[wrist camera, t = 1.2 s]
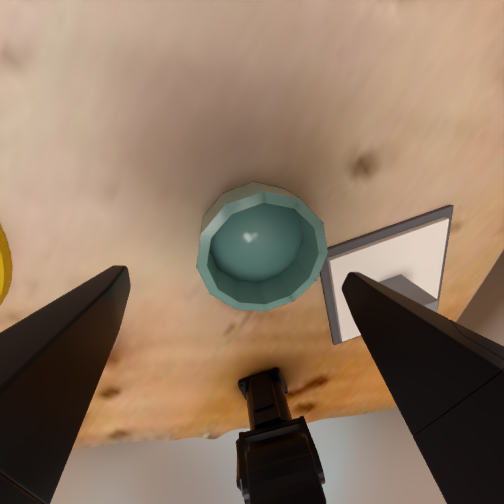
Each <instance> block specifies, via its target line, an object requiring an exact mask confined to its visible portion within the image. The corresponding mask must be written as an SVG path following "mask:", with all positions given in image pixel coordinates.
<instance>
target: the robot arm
mask: <svg viewBox="0 0 504 504" xmlns="http://www.w3.org/2000/svg"><path fill="white" fill-rule="evenodd" d="M129 292H130V278H129V272H128V268H127V267H126V266H117V265H115V266H112V267H110V268H108V269H107V270H105V271H103V272H101V273H100V274H98V275H96V276H95V277H93V278H91V279H90V280H88V281H86V282H85V283H83V284H81V285H80V286H78V287H76V288H75V289H73V290H71V291H70V292H68V293H66V294H65V295H63V296H61V297H59V298H58V299H56V300H54V301H53V302H51V303H49V304H48V305H46V306H44V307H43V308H41V309H39V310H38V311H36V312H34V313H33V314H31V315H29V316H28V317H26V318H24V319H23V320H21V321H19V322H17V323H16V324H14V325H12V326H11V327H9V328H7V329H6V330H4V331H2V332H1V333H0V504H50V502H51V500H52V497H53V495H54V492H55V490H56V487H57V485H58V482H59V480H60V477H61V475H62V472H63V470H64V467H65V465H66V462H67V460H68V457H69V455H70V452H71V450H72V447H73V445H74V442H75V440H76V437H77V435H78V432H79V430H80V427H81V425H82V422H83V420H84V417H85V415H86V412H87V410H88V407H89V405H90V402H91V400H92V397H93V395H94V393H95V390H96V388H97V385H98V383H99V380H100V378H101V375H102V373H103V370H104V368H105V365H106V363H107V360H108V358H109V355H110V353H111V350H112V348H113V345H114V343H115V340H116V338H117V335H118V332H119V330H120V326H121V323H122V319H123V315H124V311H125V308H126V304H127V300H128V296H129ZM342 292H343V295H344V297H345V300H346V303H347V305H348V308H349V310H350V313H351V315H352V318H353V320H354V322H355V324H356V326H357V328H358V330H359V332H360V334H361V336H362V338H363V340H364V342H365V344H366V346H367V348H368V350H369V352H370V354H371V356H372V357H373V359H374V361H375V363H376V365H377V367H378V369H379V371H380V373H381V375H382V377H383V379H384V381H385V383H386V385H387V387H388V389H389V391H390V393H391V395H392V397H393V399H394V401H395V402H396V404H397V406H398V408H399V410H400V412H401V414H402V416H403V418H404V420H405V422H406V424H407V426H408V428H409V430H410V432H411V434H412V435H413V438H414V440H415V442H416V444H417V446H418V448H419V450H420V452H421V454H422V455H423V458H424V459H425V461H426V463H427V466H428V467H429V469H430V471H431V473H432V475H433V477H434V479H435V481H436V483H437V485H438V487H439V489H440V491H441V493H442V495H443V497H444V499H445V501H446V503H447V504H504V346H502V345H500V344H498V343H496V342H494V341H491V340H490V339H487V338H485V337H483V336H481V335H479V334H477V333H475V332H473V331H471V330H469V329H467V328H465V327H464V326H462V325H460V324H458V323H456V322H454V321H452V320H449V319H448V318H446V317H444V316H442V315H440V314H438V313H437V312H435V311H433V310H431V309H429V308H427V307H425V306H423V305H421V304H419V303H417V302H415V301H413V300H412V299H410V298H408V297H406V296H404V295H402V294H400V293H398V292H396V291H394V290H392V289H390V288H388V287H387V286H385V285H383V284H381V283H379V282H377V281H375V280H373V279H371V278H369V277H367V276H365V275H363V274H362V273H360V272H349V273H348V274H347V276H346V278H345V280H344V282H343V284H342ZM238 387H239V389H240V390H241V392H242V394H243V395H244V397H245V399H246V400H247V407H248V415H249V422H250V431H247V432H240V433H239V439H238V440H237V441H236V447H237V487H238V488H239V489H240V490H241V492H242V495H243V497H244V501H245V504H326V498H325V495H324V492H323V488H322V484H324V483H325V478H324V473H323V469H322V465H321V462H320V459H319V455H318V452H317V450H316V447H315V444H314V442H313V439H312V437H311V434H310V432H309V429H308V427H307V424H306V421H305V419H304V416H300V417H299V418H296V419H292V417H291V414H290V410H289V407H288V403H287V400H286V396H285V394H287V393H288V390H287V387H286V385H285V382H284V380H283V377H282V375H281V372H280V370H279V368H274V369H272V370H269V371H266V372H263V373H260V374H258V375H255V376H252V377H249V378H246V379H243V380H241V381H239V382H238Z"/></svg>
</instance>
